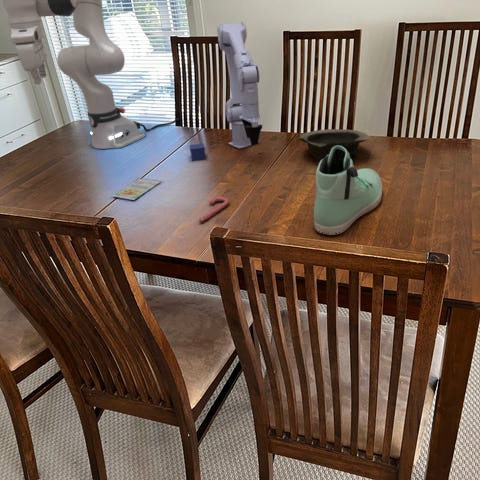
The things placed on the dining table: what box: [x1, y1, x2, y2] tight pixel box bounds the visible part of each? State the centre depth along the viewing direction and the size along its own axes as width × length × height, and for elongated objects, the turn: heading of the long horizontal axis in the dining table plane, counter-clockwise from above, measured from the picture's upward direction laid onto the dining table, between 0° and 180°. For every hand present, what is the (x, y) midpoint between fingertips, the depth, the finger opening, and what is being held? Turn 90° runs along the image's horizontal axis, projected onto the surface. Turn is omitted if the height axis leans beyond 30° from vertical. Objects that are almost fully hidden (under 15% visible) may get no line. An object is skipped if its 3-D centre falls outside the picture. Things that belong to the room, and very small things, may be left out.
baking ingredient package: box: [112, 178, 161, 201], centre depth 160 cm, size 9×1×15 cm
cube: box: [189, 142, 207, 162], centre depth 180 cm, size 5×5×5 cm
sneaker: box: [313, 146, 383, 236], centre depth 133 cm, size 14×35×20 cm, turn 152°
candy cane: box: [198, 196, 230, 223], centre depth 143 cm, size 6×15×2 cm, turn 145°
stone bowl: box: [298, 128, 371, 163], centre depth 172 cm, size 25×25×9 cm
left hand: (41, 80), depth 149 cm, fingers open, 8 cm apart
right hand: (252, 140), depth 171 cm, fingers open, 7 cm apart
